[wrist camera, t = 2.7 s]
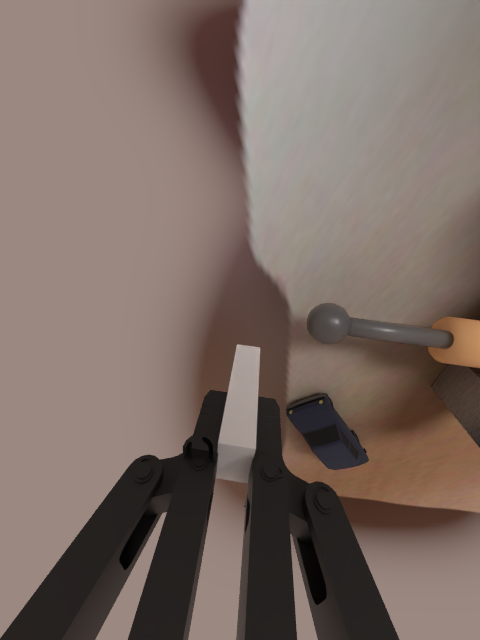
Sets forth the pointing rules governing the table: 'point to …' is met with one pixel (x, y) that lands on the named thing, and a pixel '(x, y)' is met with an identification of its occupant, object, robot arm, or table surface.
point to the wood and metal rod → (401, 334)
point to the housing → (461, 396)
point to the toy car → (327, 432)
